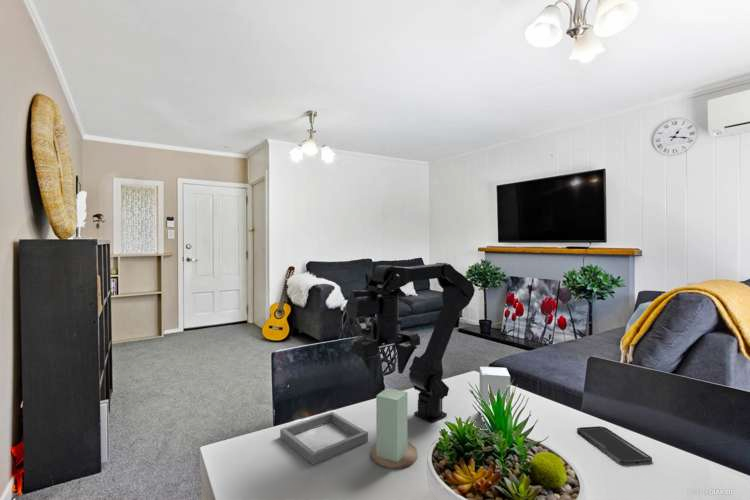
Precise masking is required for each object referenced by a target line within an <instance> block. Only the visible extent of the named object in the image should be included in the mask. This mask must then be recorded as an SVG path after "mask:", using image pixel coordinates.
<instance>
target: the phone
mask: <svg viewBox="0 0 750 500" xmlns="http://www.w3.org/2000/svg"><path fill="white" fill-rule="evenodd" d="M576 433H577V435H579V436H581V437H582V438H584V439H585V440H586V441H587V442H589V443H590V444H592V445H593V446H594V447H596V448H597V449H599V450H600V451H601V452H603V454H605V455H607V456H608V457H609V458H611V459H612V460H613V461H615V462H616V463H618V464H619V465H622V466H634V465H633V464H635V465H645V464H646V465H647V464H652V463H653V457H652V456H650V455H649V454H647V453H645V452H644V451H643V450H642V449H640V448H638V447H636V446H635V445H634V444H632V443H630V442H629V441H627V440H626V439H624V438H623V437H621V436H620V435H618V434H617V433H615V432H613V431H612V430H610V429H609V428H607V427H605V426H600V425H599V426H598V425H597V426H586V427H583V426H582V427H577V428H576Z"/></svg>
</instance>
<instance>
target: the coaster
mask: <svg viewBox="0 0 750 500" xmlns="http://www.w3.org/2000/svg"><path fill="white" fill-rule="evenodd" d="M370 456H371V459H372V461H373V462H374V463H375V464H376V465H378V466H380V467H382V468H385V469H392V470H399V469H405V468H408V467H411V466H412V465H414V464H415V463H416V462H417V459H418V450H417V448H416V447H415V445H413V444H412V443H411V442H408V441H407V452H406V453H405V454H404V456H403V457H402V458H401V459H400V460H399V461H398V462H395V461H391V460H388V459H385V458H382V457H378V456H376V443H375V444H373V446H372V448H371V455H370Z"/></svg>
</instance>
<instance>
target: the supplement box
mask: <svg viewBox="0 0 750 500" xmlns="http://www.w3.org/2000/svg"><path fill="white" fill-rule="evenodd" d="M488 384H490V386H491V389H492V392H493V394H494V395H495V396H496V395H497V390H498V386H499V389H500V393H501V395H503V394H504V392H505V390H506V388H507V385H509V384H510V385H511V375H510V373H509V371H508V368H507V367H497V366H495V367H494V366H479V394H480V393H481V395H482V397H483V398H484V400H485V401H486V402H487V404H488V405H489V406H490V402H489V396H488ZM509 398H510V399H511V387H510V388H509V391H508V394H507V398H506V403H507V402H508V400H509ZM478 407H480V405H479V406H478ZM479 416H480V421H481V422H482V423H484V421H483V419H482V417H481V415H480V414H479Z"/></svg>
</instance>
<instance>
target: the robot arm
mask: <svg viewBox="0 0 750 500" xmlns="http://www.w3.org/2000/svg"><path fill="white" fill-rule="evenodd" d="M433 279H436V280H437V283H438V285H439V286H440V287H441V288H442V292H441V293H442V294H441V298H442V308H441V309H440V313H439V315H438V318H437V320H436V323H435V325H434V328H433V331H432V334H431V335H430V338H429V341H428V343H427V346H426V347H425V351H424V352H423V354H421V356H416V355H415V356H414V358H413V359H412V364H411V366H410V367H409V368H408V371H409V374H408V378H409V380H410V381H409V382H410V383H411V384H412V385H413V389H414V390H415V391H418V394H417V395H418V396H417V397H418V399H417V411H414V412H413V415H414V416H416V417H419V418H421V419H423V420H426V421H427V422H429V423H434V422H436V421H438V420H441V419H442V418H444V417H445V418H446V417H447V415H448V413H446V412H445V411H443V399H444V398H445V397H447V396H448V395H449V390H450V387H449V386H448V385H447V384H446V383H445V382H444V381H443V380H442V378H443V374H444V370H443V369H444V368H443V358H444V355H445V352H446V350H447V347H448V345H449V342H450V339H451V337H452V334H453V332H454V329H455V327H456V324H457V320H458V318H459V316H460V314H461V312H462V311H463V310H464V309H465V308H467V306H469V304H470V302H471V301H472V299H473V297H474V296H475V290H476V289H475V287H474V284H473V282H472V281H471V280H469V279H468V278H467V277H466V276H465V275H463V274H462V272H459V271H458V270H456V269H455V267H454V266H453V265H451V264H450V263H449V262H436V263H432V264H423V265H413V266H398V265H388V264H387V265H385V264H380V265H377V266H375V268H374V269H373V271H372V275H371V277H370V279H369V280H368V282H367V284H366V285H365V286H364V288H363V289H362V290H357V289H353V290H350V295H349V296H348V298H347V301H346V303H345V308H346V309H345V310H346V314H347V316H348V318H349V319H351V320H358V319H359V320H360V319H367V318H372V320H371V324H370V325H367V324H366V323H365V322H362V323H357V324H356V325H355V333H356V337H358V338H360V337H361V339H359V340H354V341H353V342H352V344H351V346H350V347H351V349H350V351H351V354H354V355H356V356H357V357H359V358H361V360H363V363H364V365H365V367H366V370H367V373H368V376H369V378H370V381H371V382H372V383H375V382H376V380H377V377H378V376H377V374H378V369H379V362H380V356H379V355H378V353H379V351H380V349H385V348H388V347H389V348H390V347H393V346H394V348H395V350H396V353H397V355H396V357H397V372H398V374H399V375H402V374H403V373H404V371H405V369H406V368H407V367H406V366H407V364H408V362H409V360H410V359H411V357H412V355H413V354H414V352H415V350H416V349H418V347H417V346H420V345H421V337H420V335H419V334H418V333H416V332H412V331H408V330H404V331H399V327H400V326H399V325H403V319H400V317H399V314H400V313H399V312H400V311H399V301H400V300H399V299H400V298H403V297H406V296H407V294H406V293H405V292H404V291H403V290H402V287H404V286H406V285H408V284H410V283H412V282H418V281H419V282H420V281H425V280H433ZM374 317H375V318H374ZM372 340H373V341H372Z"/></svg>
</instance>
